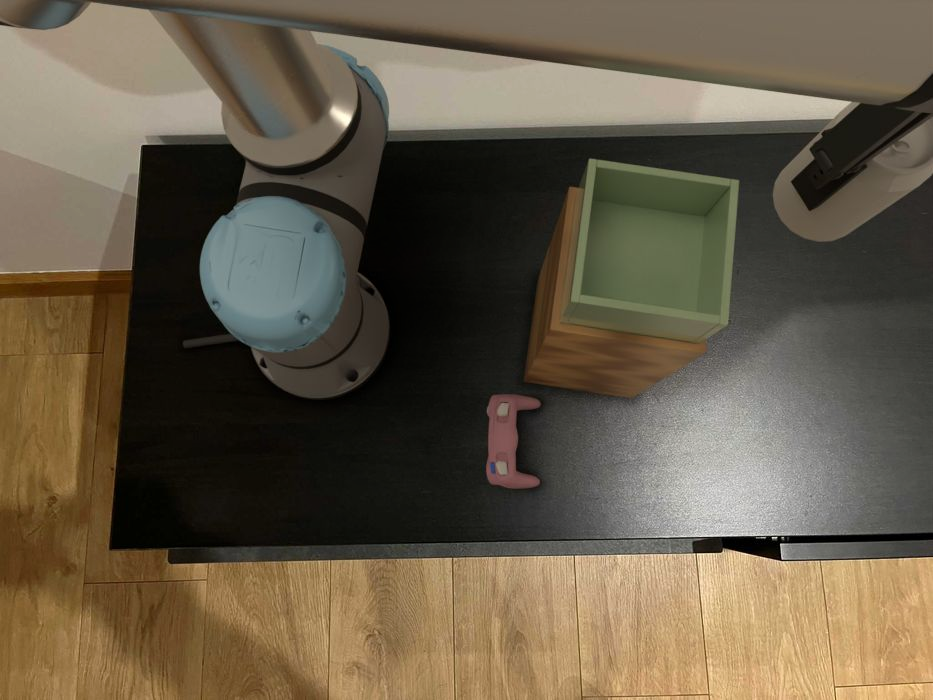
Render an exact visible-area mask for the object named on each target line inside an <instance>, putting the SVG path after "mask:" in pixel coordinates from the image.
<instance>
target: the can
mask: <svg viewBox="0 0 933 700" xmlns="http://www.w3.org/2000/svg"><path fill="white" fill-rule="evenodd" d="M859 104H860V103H857V102H850V103H849V104H847V105H846V106H845V107H843V108H842V110H841V111H839V112H838V114H836V115H835V116H834V117H833V118H832V119H831V121H829V123H828V124H827V125H826V126H824V128H823V129H821V131H819V133H817V135H816V136H814V138H812V139H811V141H810V142H809V143H808V144H806V145H805V147H803V149H802V150H801V151H800V152H799V153H798V154H797V155H796V156H795V157H794V158H793V159H791V160H790V162H789V163H788V164H786V166H785V167H784V168H783V169H781V171H780V173H779V175H778V176H777V178H776V180H775V181H774V184H773V191H772V199H773V205H774V209H775V211H776V213H777V215H778V217H779V219H780V221H781V222H782V223H783V224H784V225H785V226H786V227H787V228H788V229H789V231H791V232H792V233H794V234H795V235H797V236H799V237H801V238H803V239H806V240H808V241H809V240H810V241H814V242H818V243H820V242H833V241H836V240H839V239H841V238H844V237H846V236H847V235H849V234H850V233H852V232H853V231H855V230H856V229H858V228H859V227H861V226H862V225H863V224H865V223H867V222H868V221H870V220H871V219H872V218H874V217H875V216H877V215H878V214H880V213H882V212H883V211H884V210H886V209H887V208H889V207H890V206H892V205H893V204H895V203H896V202H897V201H899V200H900V199H902V198H904V197H905V196H907V195H908V194H909V193H911V192H913V191H915V189H917V188H918V187H920V186H921V185H922V184H923V183H924V182H926V181H927V180H928V179H929V178H931V176H932V175H933V117H932V118H930V119H929V120H927V121H926V122H925V123H923V124H922V125H920V126H919V127H917V128H916V129H914V130H913V131H912V132H910V133H909V134H907V135H906V136H904V137H903V138H901V139H900V140H899V141H897V142H896V143H894V144H893V145H891V146H890V147H888V148H887V149H886V150H884V151H883V152H881V153H880V154H878V155H877V156H875V157H874V158H873V159H871V160H870V161H868V162H867V163H865V164H866V165H867V168H866V169H865V170H863V171H862V172H861V173H860V174H859V175H857V176H856V177H855V178H854V179H852V180H851V181H850V182H849V183H847V184H846V185H845V186H844V187H842V188H841V189H840V190H839V191H837V192H836V193H835V194H834V195H832V196H831V197H830V198H829V199H828V200H826V201H825V202H824V203H823V204H821V205H820V206H819V207H818V208H815V209H813V210H811V211H809V210H808V209H807V207H806V205H805V204H804V202H803V201H802V199H801V197H800V196H799V194H798V193H797V191H796V190H795V188H794V186H793V185H792V183H791V182H790V181H792V180H793V179H794V178H795V177H796V176H797V175H798V174H799V173H800V172H801V171H802V170H803V169H804V168H805V167H806V166H807V165H808V164H809V163H810V162H812V161H813V160H814V159H815V158H814V157H813V155H812V153H811V152H810V150H809V149H810V147H812V146H813V144H814V143H815V142H816V141H818V140H819V139H821V138H822V135H821V133H822V132H823V131H824V130H827V129H830V128H833V127H834V126H835V125H836V124H837V123H839V122H840V121H841V120H842V119H843V118H844V117H845V116H846V115H848V114H849V113H850V112H851V111H852V110H853V109H854V108H855V107H857V106H858V105H859Z"/></svg>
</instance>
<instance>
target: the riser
mask: <svg viewBox="0 0 933 700" xmlns="http://www.w3.org/2000/svg"><path fill="white" fill-rule="evenodd" d="M578 188H579V187H575V186H569V187H568V190H567V192H566V196H565V198H564V202H563V204H562V207H561V210H560V214H559V217H558V219H557V222H556V225H555V228H554V230H553V233H552V237H551V240H550V243H549V246H548V249H547V252H546V254H545V257H544V260H543V264H542V265H541V268H540V269H541V270H540V272H539V275H538V277H537V283H536V289H535V290H536V291H535V297H534V304H533V312H532V319H531V325H530V333H529V340H528V346H527V347H528V348H527V353H526V362H525V368H524V374H523V382H524V383H530V384H536V385H543V386H549V387H556V388H562V389H569V390H575V391H576V390H577V391H583V392H587V393H595V394H601V395H607V396H614V397H620V398H621V397H622V398H626V399H632V398H634V397H635V396H638V395H639V394H641V393H642V392H644V391H645V390H648V389H650V388H651V387H652V386H654V385H656V384H657V383H659V382H661V381H662V380H664V379H666V378H667V377H669V376H670V375H672V374H674V373H675V372H677V371H678V370H680V369H682V368H684V367H686V366H687V365H689V364H690V363H692V362H694V361H695V360H697V359H698V358H700V357H702V356H704V355H706V353H707V345H708V338H707V339H706V340H704V341H703V342H701V343H700V344H694V343H687V342H680V341H674V340H667V339H661V338H654V337H648V336H641V335H634V334H628V333H621V332H615V331H608V330H602V329H595V328H588V327H582V326H575V325H569V324H562V323H559V318H560V311H561V303H562V296H563V288H564V281H565V273H566V266H567V258H568V250H569V243H570V235H571V228H572V220H573V213H574V205H575V197H576V193H577V190H578Z"/></svg>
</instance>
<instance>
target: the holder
mask: <svg viewBox="0 0 933 700" xmlns="http://www.w3.org/2000/svg"><path fill="white" fill-rule="evenodd" d="M577 188H578V190H577V193H576V197H575V205H574V213H573V220H572V228H571V235H570V243H569V250H568V258H567V266H566V273H565V281H564V288H563V296H562V303H561V311H560V318H559V323H562V324H569V325H575V326H582V327H588V328H595V329H602V330H608V331H615V332H621V333H628V334H634V335H641V336H648V337H654V338H661V339H667V340H674V341H680V342H687V343H694V344H700V343H701V342H703V341H704V340H706V339H707V340H708V339H709V338H711V337H712V336H713V335H715V334H716V333H718V332H719V331H721V330H723V329H724V328H726V327H727V326H728V325H729V318H730V317H729V316H730V304H731V303H730V302H731V293H732V292H731V291H732V280H733V279H732V278H733V267H734V265H733V264H734V254H735V253H734V252H735V240H736V229H737V217H738V216H737V215H738V205H739V204H738V203H739V191H740V190H739V189H740V180H739V179H734V178H726V177H719V176H714V175H707V174H699V173H692V172H685V171H678V170H671V169H665V168H657V167H650V166H644V165H637V164H630V163H624V162H617V161H609V160H604V159H596V158H589V159H588V161H587V163H586V166H585V169H584V171H583V174H582V177H581V180H580V183H579V185H578V187H577Z"/></svg>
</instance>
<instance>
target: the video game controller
mask: <svg viewBox="0 0 933 700" xmlns="http://www.w3.org/2000/svg"><path fill="white" fill-rule="evenodd" d="M541 406H542V404H541V401H540V400H539V399H538V398H536V397H533V396H528V395H527V396H526V395H520V394H516V393H515V394H514V393H501V394H493V395H491V397H490V398H489V401H488V405H487V407H486V414H487V416H488V418H489V420H488V421H489V422H488V434H487V435H488V436H487V437H488V438H487V439H488V440H487V444H488V445H487V448H488V449H487V451H488V457H487V460H486V466H485V467H486V469H485V470H486V471H485V472H486V478H487V481H488V482H489V483H490V485H493V486H501V487H504V488H507V489H514V490H519V489H532V488H535V487H538V486H539V485H540V484H541V480H540V479H539V478H538V476H537V477H536V476H534V475H533V474H527V473H522V472H520V471H518V470H517V464H516V463H517V457H516V455H517V454H516V452H517V448H518V444H519V434H518V428H517V416H518V415H517V413H518V411H528V410H529V411H530V410H535V409H539V408H540V407H541Z"/></svg>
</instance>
